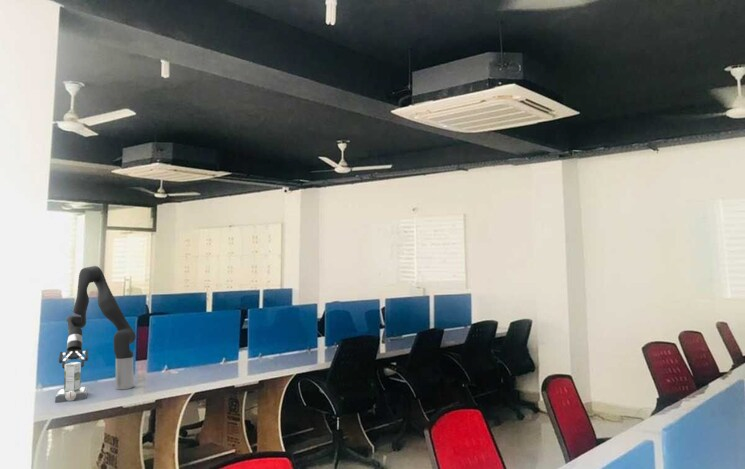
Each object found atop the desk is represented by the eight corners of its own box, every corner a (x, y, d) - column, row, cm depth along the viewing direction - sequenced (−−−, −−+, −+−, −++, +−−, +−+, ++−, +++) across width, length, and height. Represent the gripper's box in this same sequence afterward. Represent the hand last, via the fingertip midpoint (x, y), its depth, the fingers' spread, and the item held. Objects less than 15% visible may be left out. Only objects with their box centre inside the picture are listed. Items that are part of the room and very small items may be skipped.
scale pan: (60, 391, 290) (60, 389, 290) (85, 388, 295) (85, 386, 295) (57, 395, 279) (57, 394, 279) (83, 392, 284) (83, 391, 285)
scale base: (58, 396, 290) (58, 387, 291) (87, 393, 296) (87, 384, 297) (55, 402, 277) (55, 393, 277) (85, 399, 283) (85, 389, 283)
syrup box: (70, 389, 291) (70, 362, 292) (81, 388, 290) (81, 361, 291) (63, 391, 285) (63, 364, 286) (74, 391, 285) (74, 363, 285)
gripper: (60, 340, 303) (57, 364, 292) (88, 338, 309) (87, 361, 298) (60, 349, 307) (58, 372, 296) (88, 346, 313) (87, 370, 302)
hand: (73, 367), depth 297 cm, fingers open, 8 cm apart
